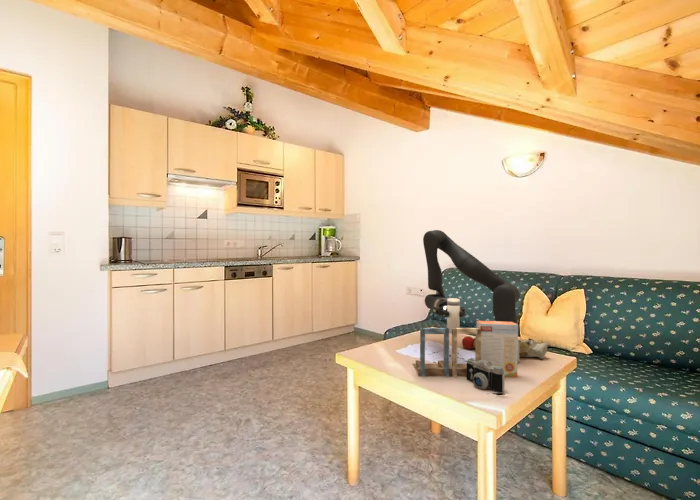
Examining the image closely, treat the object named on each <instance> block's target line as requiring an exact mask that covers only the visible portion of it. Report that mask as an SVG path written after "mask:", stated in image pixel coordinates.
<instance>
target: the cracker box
mask: <svg viewBox="0 0 700 500" xmlns="http://www.w3.org/2000/svg"><path fill="white" fill-rule="evenodd" d="M476 328H480V329H481V360H486V361H489V362H491V363H492V364H493V365H494V366H500V367H502V369H504V374H505V378H518V363H517V361H518V340H519V324H518V325H517V324H515V323H514V322H503V321H494V320H476Z"/></svg>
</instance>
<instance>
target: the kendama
mask: <svg viewBox="0 0 700 500" xmlns="http://www.w3.org/2000/svg"><path fill="white" fill-rule="evenodd" d="M461 345H462V347H463V348H464V349H467V350H471V349H475V348H476V337H474V338H473V337H471V336H470V335H469V336H468V335H466V336H464V337H463V338H462V340H461Z"/></svg>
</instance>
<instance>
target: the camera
mask: <svg viewBox="0 0 700 500" xmlns="http://www.w3.org/2000/svg"><path fill="white" fill-rule="evenodd" d="M466 364H467V377H466V380H467V381H469V382H472V383H473V384H474V387H476V388H477V389H482V390H491V391H492V392H493V393H492V394H493V395H496V396H504V395H505V378H506V377H505V374H504V369H502V367H500V366H494V365H493V364H492V363H491V362H489V361H486V360H478V361H476V360H475V359H474V358H473V357H470V358H468V359H467V360H466Z"/></svg>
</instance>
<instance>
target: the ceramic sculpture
mask: <svg viewBox="0 0 700 500" xmlns="http://www.w3.org/2000/svg"><path fill="white" fill-rule="evenodd" d="M548 345H549V343H548V342H543V343H538V342H536V341H535V340H534V339H533V338H528V340H521V341H519V358H520V357H521V358H522V357H524V358H534V357H535V358H539V359H540V360H543V359H544V358H545V357H546V354H547V352H548Z"/></svg>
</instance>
